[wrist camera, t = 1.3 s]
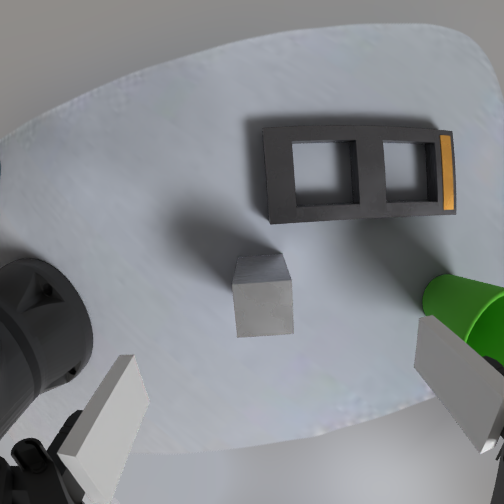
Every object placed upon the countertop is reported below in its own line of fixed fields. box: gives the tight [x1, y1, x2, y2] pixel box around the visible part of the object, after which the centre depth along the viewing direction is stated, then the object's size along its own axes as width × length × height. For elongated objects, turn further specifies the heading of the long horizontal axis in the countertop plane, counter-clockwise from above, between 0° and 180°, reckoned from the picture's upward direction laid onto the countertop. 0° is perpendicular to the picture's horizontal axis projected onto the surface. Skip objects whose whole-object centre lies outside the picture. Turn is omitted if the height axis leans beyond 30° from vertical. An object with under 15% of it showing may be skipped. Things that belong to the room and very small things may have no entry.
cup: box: [422, 274, 504, 367], centre depth 25 cm, size 9×9×11 cm
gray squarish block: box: [232, 254, 294, 338], centre depth 26 cm, size 4×4×8 cm
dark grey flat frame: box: [262, 125, 456, 224], centre depth 27 cm, size 18×8×2 cm, turn 94°
